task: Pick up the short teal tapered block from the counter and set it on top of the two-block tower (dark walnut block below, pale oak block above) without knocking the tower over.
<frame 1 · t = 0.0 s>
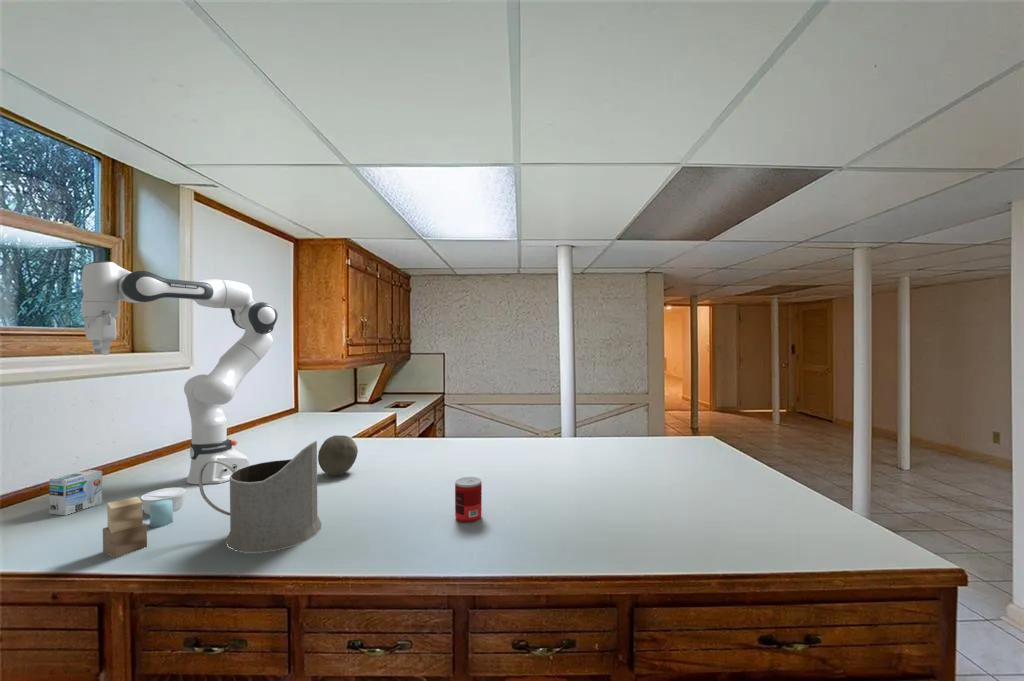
hand: (101, 354, 148), 48 cm above the countertop, tool pointing down, fingers open, 8 cm apart
canned food: (468, 518, 136), on the countertop
walnut block: (125, 549, 116), on the countertop, touching oak block
oak block: (125, 526, 116), point 6 cm above the countertop, touching walnut block
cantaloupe: (338, 474, 179), on the countertop
light bulb box: (76, 509, 144), on the countertop
teal tapered block: (161, 523, 132), on the countertop
pitcher: (259, 534, 126), on the countertop
ramekin: (163, 510, 143), on the countertop
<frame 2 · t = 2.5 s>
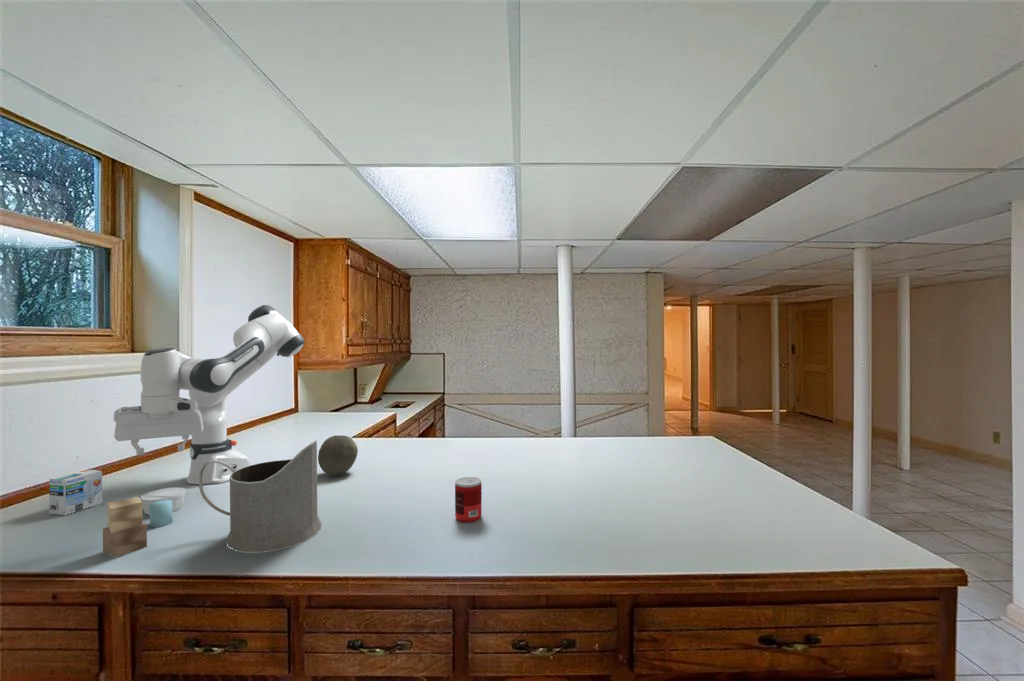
hand: (161, 452, 132), 20 cm above the countertop, tool pointing down, fingers open, 8 cm apart
nothing on the countertop moved.
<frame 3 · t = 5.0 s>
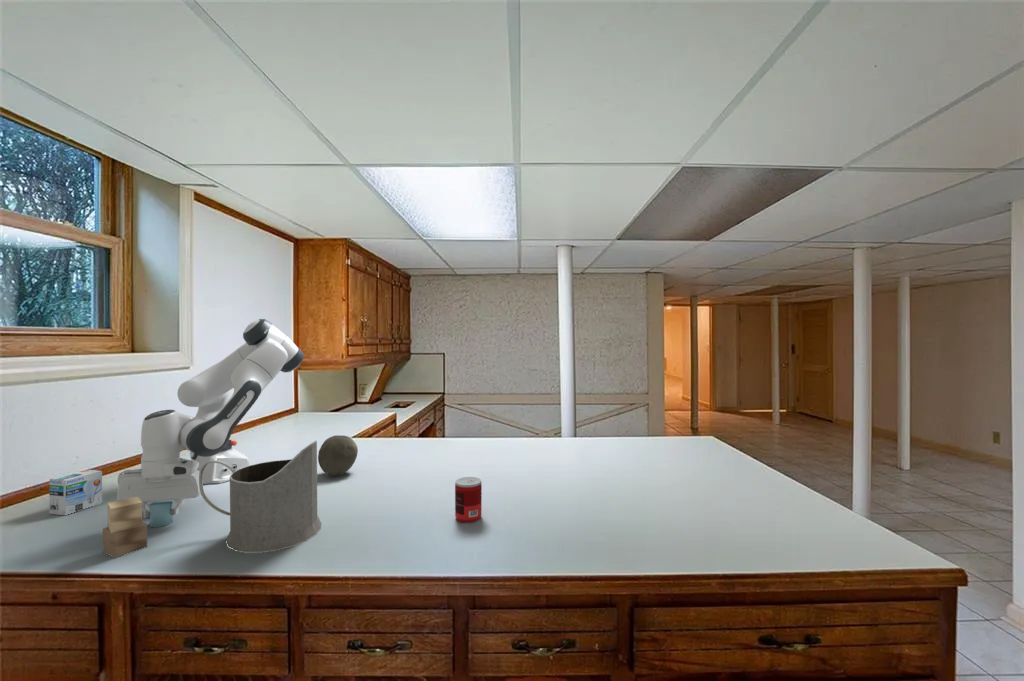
hand: (161, 515, 132), 2 cm above the countertop, tool pointing down, fingers closed on teal tapered block, 5 cm apart
walnut block: (125, 549, 116), on the countertop
oak block: (125, 526, 116), point 6 cm above the countertop
teal tapered block: (161, 523, 132), on the countertop, touching gripper
everything else where it was.
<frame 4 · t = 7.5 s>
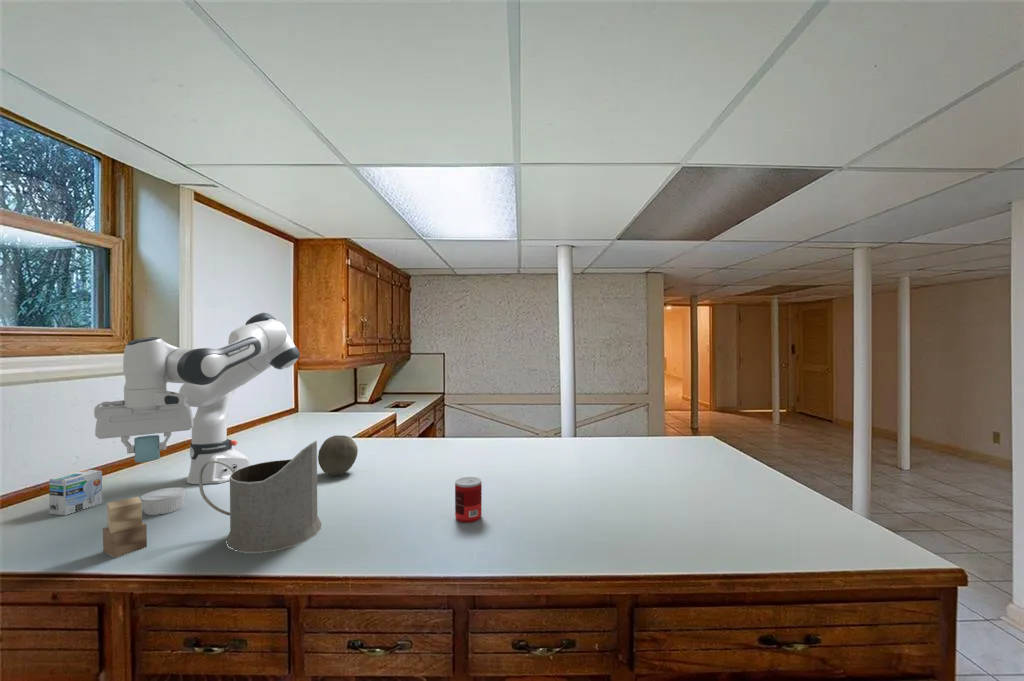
hand: (147, 451, 122), 24 cm above the countertop, tool pointing down, fingers closed on teal tapered block, 5 cm apart
walnut block: (125, 549, 116), on the countertop, touching oak block
oak block: (124, 526, 116), point 6 cm above the countertop, touching walnut block
teal tapered block: (147, 459, 122), point 21 cm above the countertop, touching gripper
everything else where it was.
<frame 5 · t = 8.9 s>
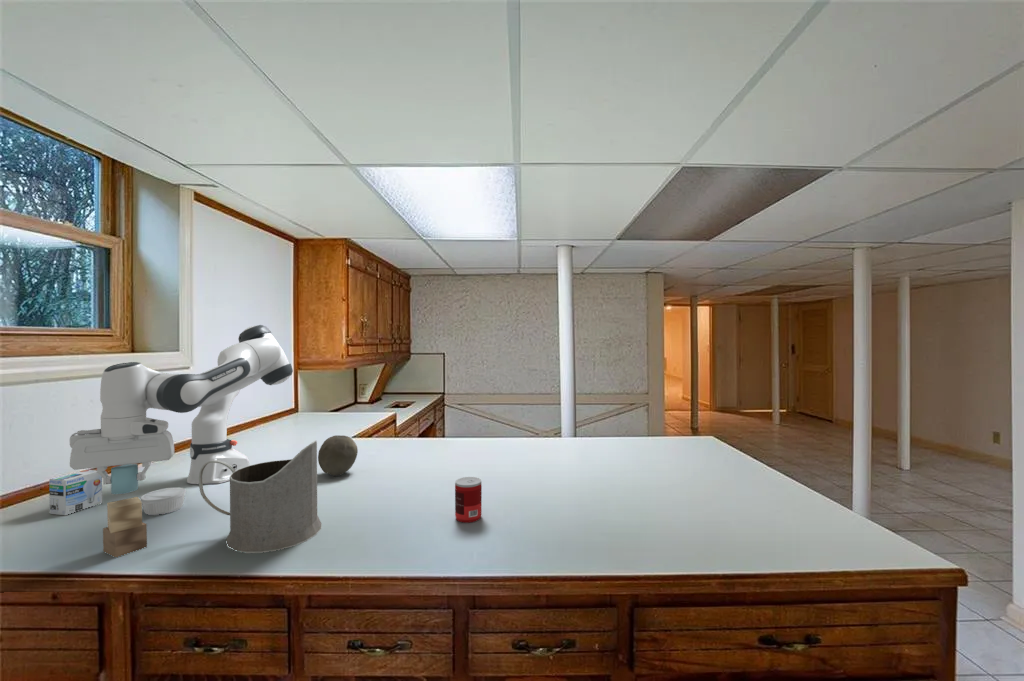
hand: (125, 481, 116), 17 cm above the countertop, tool pointing down, fingers closed on teal tapered block, 5 cm apart
teal tapered block: (124, 490, 116), point 15 cm above the countertop, touching gripper
everything else where it was.
when the fingers open (16 cm above the countertop, at t = 10.1 s): teal tapered block drops 2 cm, resting on oak block.
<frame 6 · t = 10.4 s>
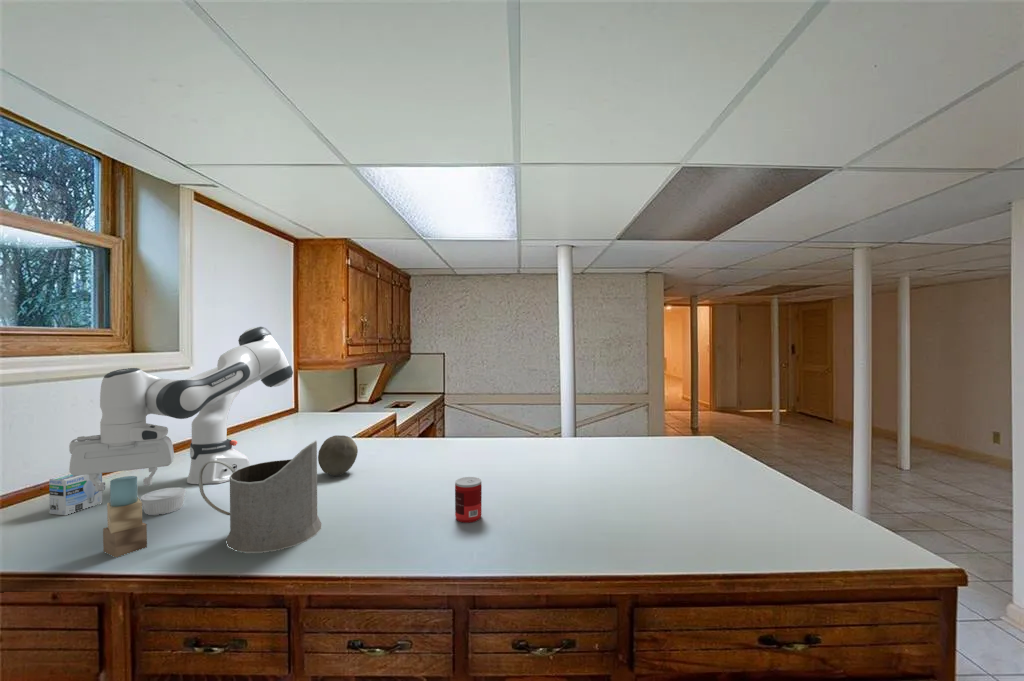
hand: (124, 487, 116), 16 cm above the countertop, tool pointing down, fingers open, 8 cm apart
oak block: (124, 526, 116), point 6 cm above the countertop, touching teal tapered block, walnut block
teal tapered block: (124, 502, 116), point 12 cm above the countertop, touching oak block
everything else where it was.
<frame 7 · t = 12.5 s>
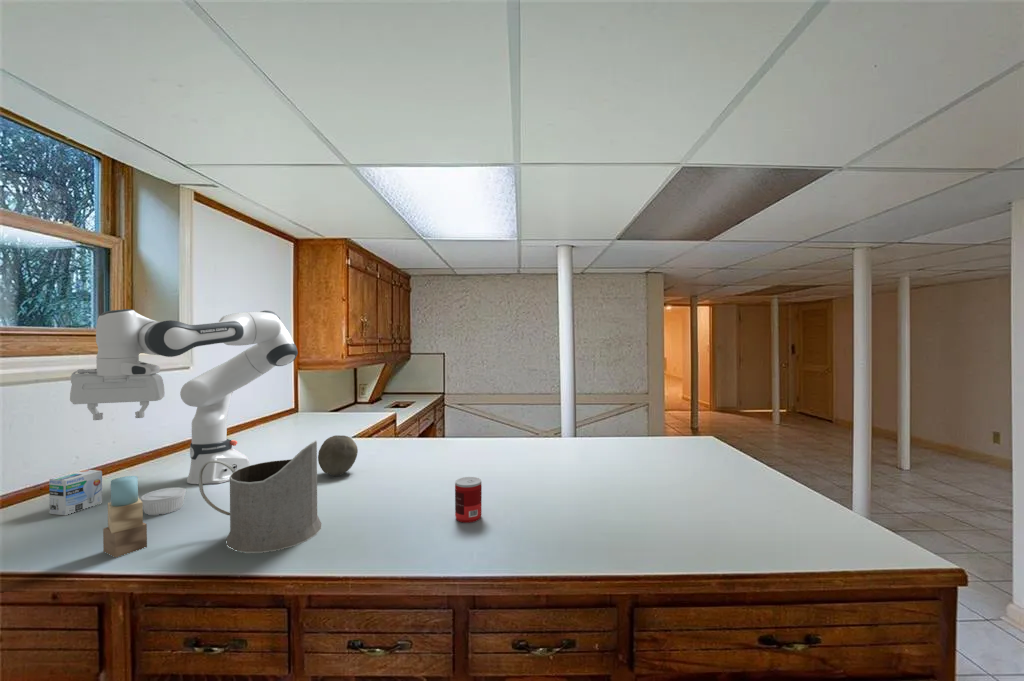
hand: (119, 418, 126), 31 cm above the countertop, tool pointing down, fingers open, 8 cm apart
nothing on the countertop moved.
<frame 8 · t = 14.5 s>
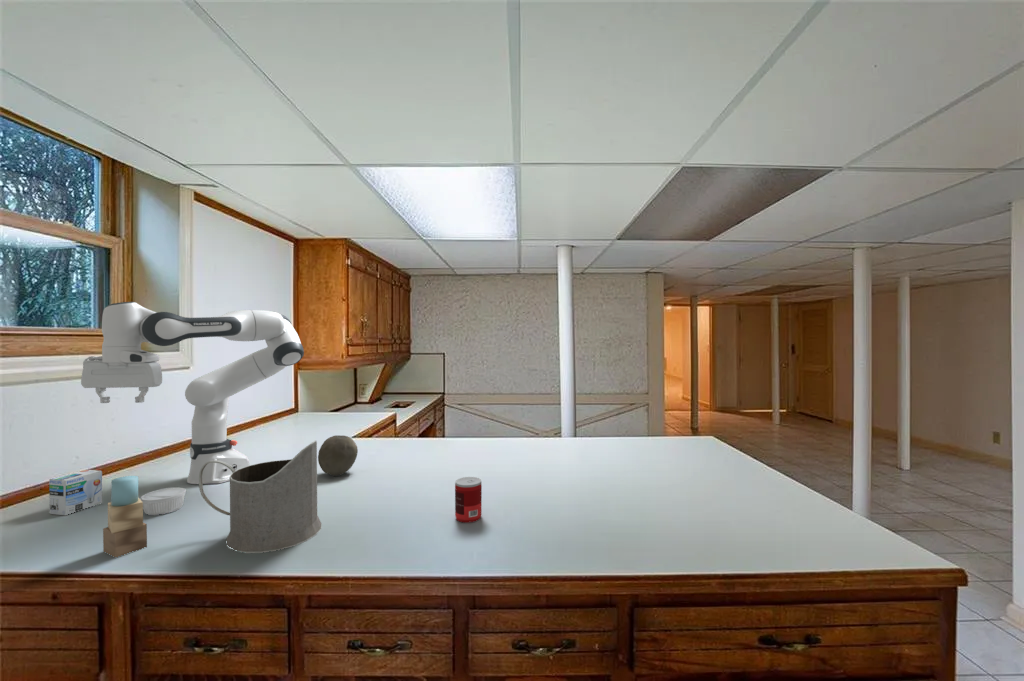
hand: (122, 402, 137), 34 cm above the countertop, tool pointing down, fingers open, 8 cm apart
nothing on the countertop moved.
at the end: teal tapered block 0.1 cm off-centre on the oak block, point 6.0 cm above the oak block's base; oak block tilted 0°; oak block 0.1 cm off-centre on the walnut block, point 6.0 cm above the walnut block's base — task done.
